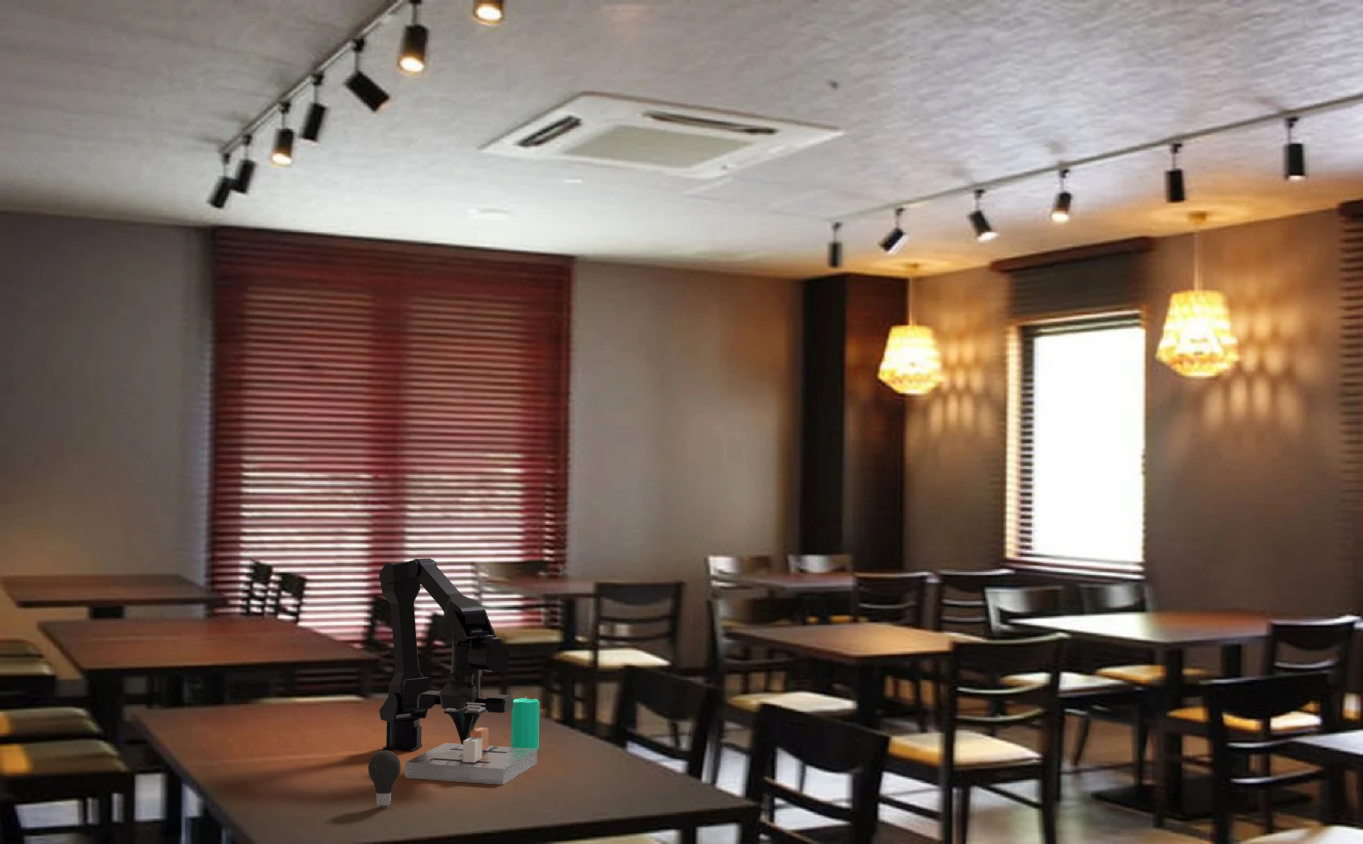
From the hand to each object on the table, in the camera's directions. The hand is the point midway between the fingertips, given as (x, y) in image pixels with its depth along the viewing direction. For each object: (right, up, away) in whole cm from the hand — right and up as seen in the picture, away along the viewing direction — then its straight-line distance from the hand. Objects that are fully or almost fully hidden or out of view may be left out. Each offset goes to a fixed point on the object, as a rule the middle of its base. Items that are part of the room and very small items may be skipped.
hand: (464, 744), depth 285 cm
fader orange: (+3, -4, -1) cm, 5 cm away
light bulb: (-9, -3, -37) cm, 38 cm away
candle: (+10, -5, +17) cm, 20 cm away
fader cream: (+3, -4, -11) cm, 12 cm away
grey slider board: (+2, -4, -5) cm, 7 cm away
